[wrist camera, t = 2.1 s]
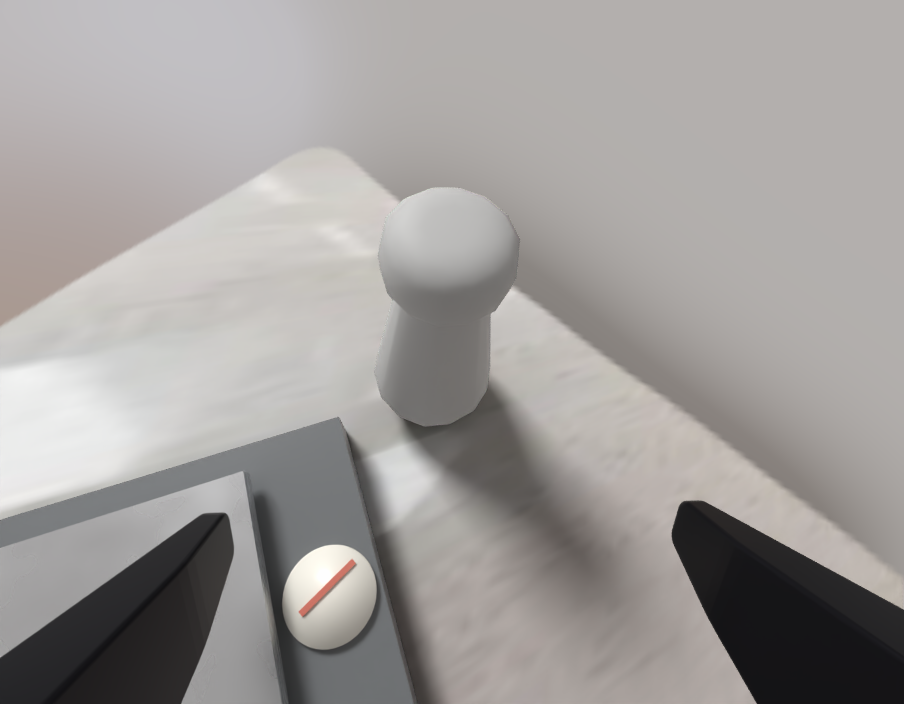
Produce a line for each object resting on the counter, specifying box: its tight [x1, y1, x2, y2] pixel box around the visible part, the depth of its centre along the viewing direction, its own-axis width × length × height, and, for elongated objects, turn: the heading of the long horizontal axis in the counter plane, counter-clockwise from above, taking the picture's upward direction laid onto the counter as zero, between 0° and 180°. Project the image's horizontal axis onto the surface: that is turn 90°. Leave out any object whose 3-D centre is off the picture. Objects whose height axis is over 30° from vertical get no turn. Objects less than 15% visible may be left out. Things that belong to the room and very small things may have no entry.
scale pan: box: [0, 471, 289, 704], centre depth 15 cm, size 11×9×1 cm
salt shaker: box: [374, 188, 520, 427], centre depth 18 cm, size 6×6×13 cm
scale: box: [0, 417, 418, 704], centre depth 17 cm, size 14×14×3 cm
